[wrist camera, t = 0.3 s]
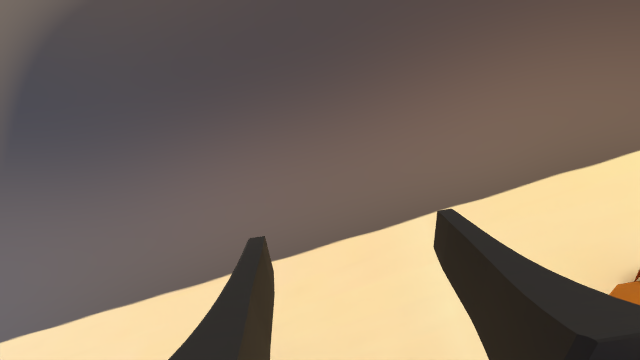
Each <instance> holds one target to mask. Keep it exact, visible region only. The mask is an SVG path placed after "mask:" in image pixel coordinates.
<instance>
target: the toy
mask: <svg viewBox="0 0 640 360" xmlns="http://www.w3.org/2000/svg"><path fill="white" fill-rule="evenodd" d="M639 277H640V270H639V272H638V274H637V276H636V279H635V281H634V282H630V283H624V284H618V285H617V286H616V287H615V288H614V290H613V291H612V292H611V293H610V294H609V295H610V296H613V297H616V298H619V299H622V300H625V301H628V302H632V303H635V304H638V305H640V281H636V280H637V279H638V278H639Z"/></svg>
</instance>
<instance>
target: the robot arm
mask: <svg viewBox="0 0 640 360" xmlns="http://www.w3.org/2000/svg"><path fill="white" fill-rule="evenodd" d="M434 250H435V252H436V255H437V257H438V260H439V262H440V264H441V267H442V269H443V271H444V273H445V274H446V276H447V278H448V280H449V282H450V283H451V285H452V287H453V289H454V290H455V292H456V294H457V296H458V297H459V299H460V301H461V302H462V304H463V306H464V308H465V309H466V311H467V313H468V315H469V317H470V318H471V320H472V322H473V324H474V326H475V328H476V331H477V333H478V335H479V337H480V340H481V342H482V344H483V346H484V349H485V351H486V353H487V356H488V358H489V360H640V305H638V304H635V303H632V302H628V301H625V300H622V299H619V298H616V297H613V296H610V295H608V294H605V293H602V292H600V291H597V290H594V289H592V288H589V287H587V286H584V285H582V284H579V283H577V282H574V281H572V280H570V279H568V278H565V277H563V276H561V275H559V274H556V273H554V272H552V271H550V270H548V269H546V268H544V267H542V266H540V265H538V264H537V263H535V262H533V261H531V260H529V259H527V258H525V257H524V256H522V255H520V254H518V253H517V252H515V251H513V250H512V249H510V248H508V247H507V246H505V245H504V244H502V243H500V242H499V241H497V240H496V239H494V238H493V237H491V236H490V235H488V234H487V233H485V232H484V231H483V230H481V229H480V228H478V227H477V226H476V225H474V224H473V223H471V222H470V221H469V220H467V219H466V218H464V217H463V216H462V215H460V214H459V213H457V212H456V211H454V210H453V209H447V210H440V211H437V220H436V229H435V238H434ZM273 307H274V271H273V267H272V263H271V259H270V255H269V251H268V247H267V243H266V239H265V236H263V237H256V238H250V239H249V240H248V242H247V244H246V247H245V249H244V251H243V253H242V255H241V258H240V259H239V262H238V264H237V266H236V268H235V269H234V271H233V273H232V275H231V277H230V279H229V280H228V282H227V284H226V286H225V287H224V289H223V290H222V292H221V294H220V295H219V297H218V299H217V300H216V302H215V303H214V305H213V306H212V308H211V309H210V310H209V312H208V313H207V315H206V316H205V317H204V319H203V320H202V321H201V323H200V324H199V325H198V326H197V328H196V329H195V330H194V331H193V333H192V334H191V335H190V336H189V337H188V339H187V340H186V341H185V342H184V343H183V344H182V345H181V347H180V348H179V349H178V350H177V351H176V352H175V353H174V354H173V355H172V356H171V357H170V358H169V359H168V360H270V345H271V333H272V320H273Z"/></svg>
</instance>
